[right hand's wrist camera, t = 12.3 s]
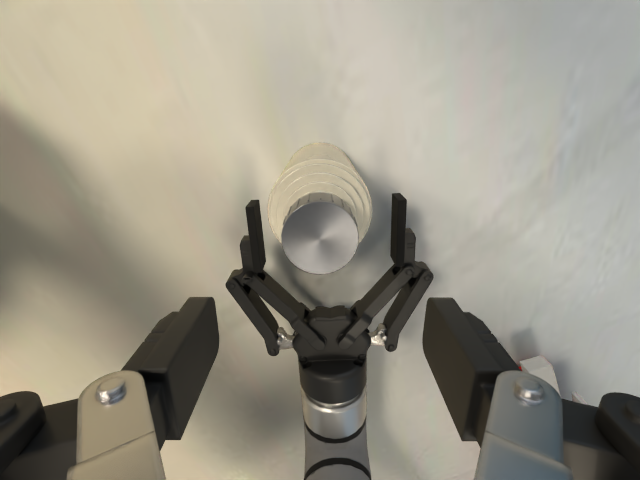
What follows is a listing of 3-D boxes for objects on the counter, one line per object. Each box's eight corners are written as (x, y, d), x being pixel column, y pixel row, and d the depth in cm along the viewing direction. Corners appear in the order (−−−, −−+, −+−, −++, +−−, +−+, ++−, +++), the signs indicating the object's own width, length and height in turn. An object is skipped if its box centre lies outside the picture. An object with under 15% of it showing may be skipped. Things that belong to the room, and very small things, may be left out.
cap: (290, 263, 22) (287, 279, 20) (278, 196, 21) (273, 206, 19) (358, 254, 22) (363, 269, 20) (351, 186, 21) (355, 195, 18)
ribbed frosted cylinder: (291, 215, 39) (268, 301, 21) (280, 147, 36) (241, 181, 19) (357, 206, 39) (389, 286, 21) (350, 137, 36) (380, 161, 18)
